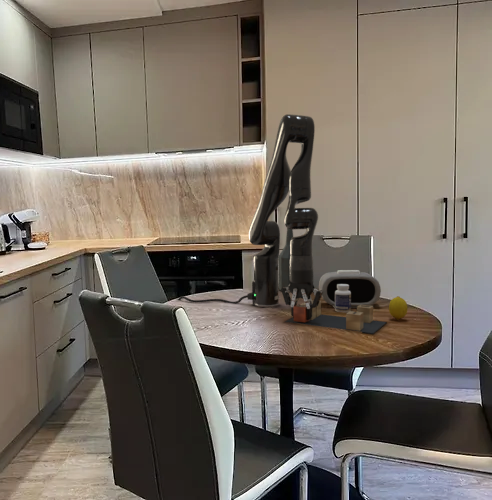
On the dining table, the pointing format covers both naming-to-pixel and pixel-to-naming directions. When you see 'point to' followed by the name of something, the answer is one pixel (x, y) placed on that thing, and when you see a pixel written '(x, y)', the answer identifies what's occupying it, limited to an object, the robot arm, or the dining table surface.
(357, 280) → the alarm clock
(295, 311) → the red block
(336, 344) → the dining table surface
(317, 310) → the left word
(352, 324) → the letter block row
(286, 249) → the bottle
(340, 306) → the pill bottle
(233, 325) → the dining table surface
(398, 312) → the lemon
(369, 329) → the word mat
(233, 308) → the dining table surface
